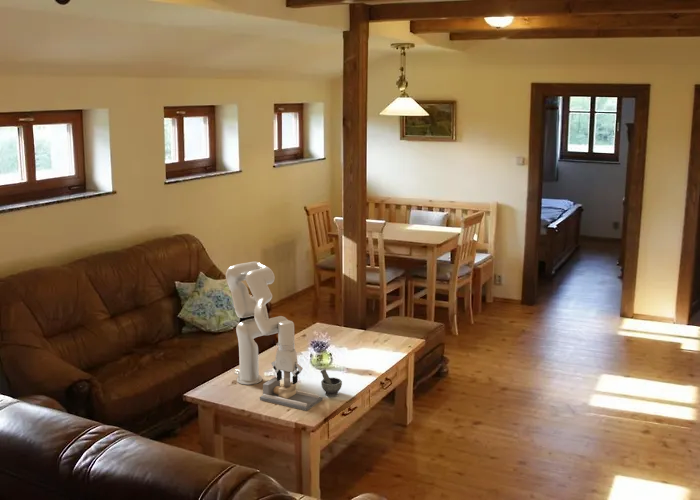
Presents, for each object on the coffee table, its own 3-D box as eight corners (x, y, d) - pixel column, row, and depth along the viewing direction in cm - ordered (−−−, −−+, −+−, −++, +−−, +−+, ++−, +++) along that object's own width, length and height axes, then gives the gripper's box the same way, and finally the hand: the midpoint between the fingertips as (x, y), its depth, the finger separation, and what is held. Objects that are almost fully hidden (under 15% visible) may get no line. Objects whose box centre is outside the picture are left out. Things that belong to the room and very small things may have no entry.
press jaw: (278, 398, 372) (278, 366, 369) (289, 391, 380) (288, 360, 376) (285, 400, 370) (285, 368, 367) (296, 393, 378) (295, 361, 375)
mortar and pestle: (345, 393, 382) (345, 370, 379) (333, 400, 374) (333, 376, 372) (327, 388, 388) (326, 365, 386) (315, 394, 381) (315, 371, 378)
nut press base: (260, 400, 375) (259, 385, 373) (276, 389, 387) (276, 375, 385) (306, 410, 362) (306, 395, 361) (322, 400, 374) (321, 385, 373)
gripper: (266, 346, 371) (267, 381, 374) (297, 352, 362) (298, 387, 366) (275, 341, 377) (276, 375, 381) (306, 347, 369) (306, 382, 373)
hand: (287, 381), depth 373 cm, fingers open, 8 cm apart
